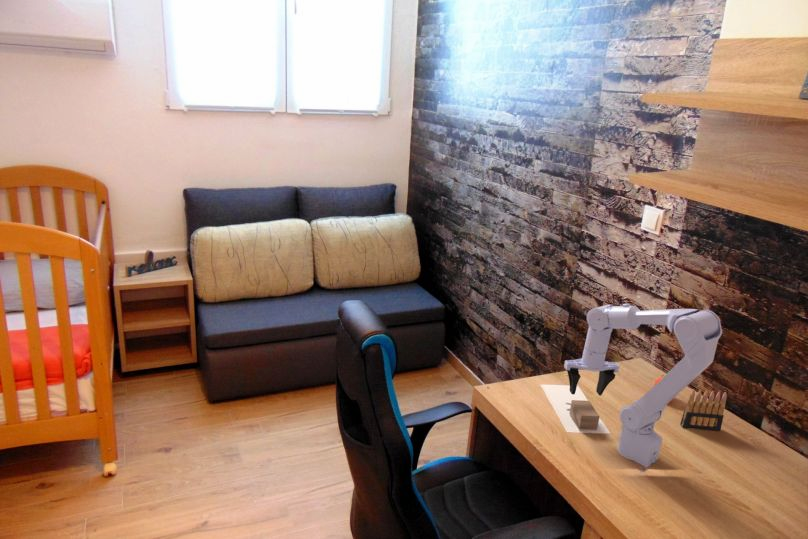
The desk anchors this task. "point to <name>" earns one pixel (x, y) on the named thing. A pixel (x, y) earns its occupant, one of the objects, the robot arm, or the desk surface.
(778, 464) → the desk surface
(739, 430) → the desk surface
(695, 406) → the ammunition clip
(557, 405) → the plank
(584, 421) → the block
